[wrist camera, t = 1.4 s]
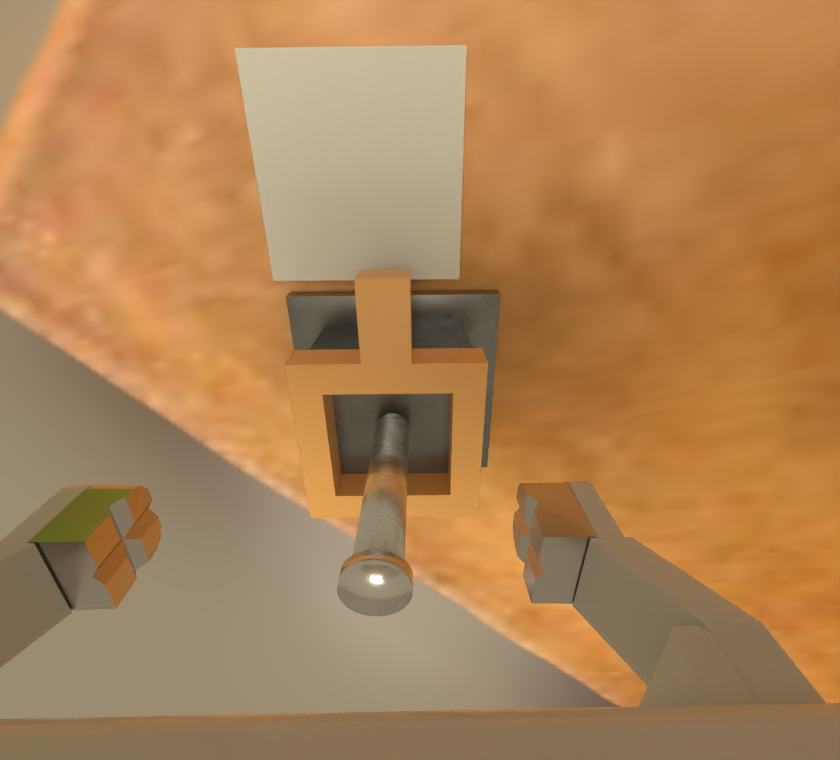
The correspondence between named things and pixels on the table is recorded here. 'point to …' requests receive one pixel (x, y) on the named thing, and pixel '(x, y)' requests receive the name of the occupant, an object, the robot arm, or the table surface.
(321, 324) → the stand
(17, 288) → the table surface
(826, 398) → the table surface
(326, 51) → the mat
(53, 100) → the table surface
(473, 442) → the orange handled frame
